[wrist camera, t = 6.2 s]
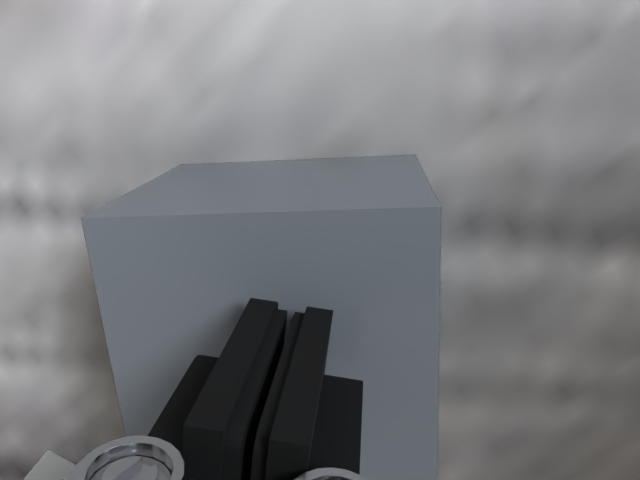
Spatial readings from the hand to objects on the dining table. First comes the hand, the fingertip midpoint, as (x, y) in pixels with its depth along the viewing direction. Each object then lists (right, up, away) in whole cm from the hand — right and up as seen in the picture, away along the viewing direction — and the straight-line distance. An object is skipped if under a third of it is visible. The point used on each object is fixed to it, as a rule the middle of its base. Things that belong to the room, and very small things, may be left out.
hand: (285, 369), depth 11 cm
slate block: (0, +2, +6) cm, 6 cm away
